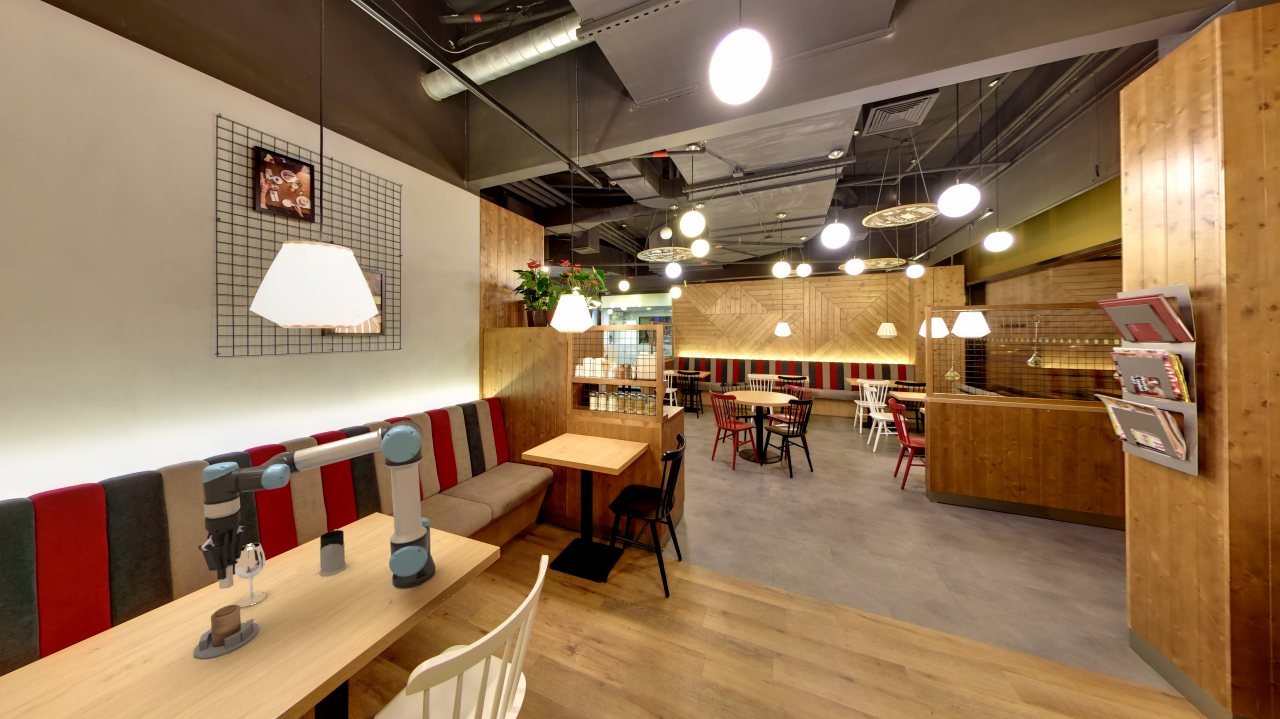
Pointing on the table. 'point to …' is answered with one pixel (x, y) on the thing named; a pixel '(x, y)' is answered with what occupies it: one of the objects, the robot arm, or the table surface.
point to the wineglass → (250, 570)
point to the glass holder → (332, 553)
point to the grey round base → (226, 641)
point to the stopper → (225, 624)
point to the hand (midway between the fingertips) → (226, 586)
